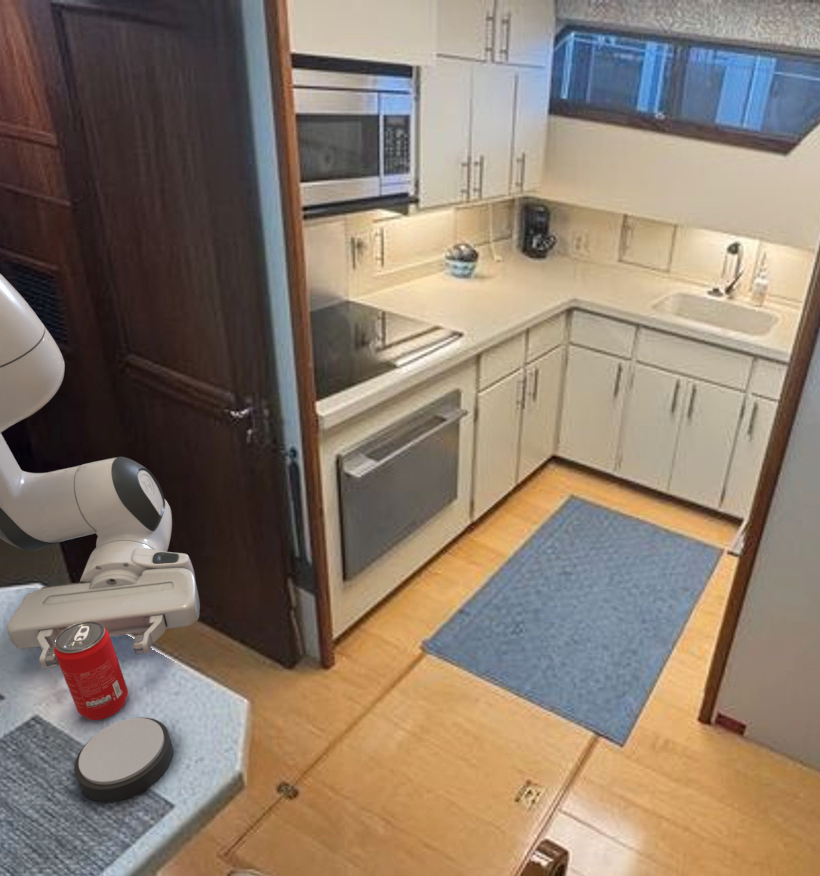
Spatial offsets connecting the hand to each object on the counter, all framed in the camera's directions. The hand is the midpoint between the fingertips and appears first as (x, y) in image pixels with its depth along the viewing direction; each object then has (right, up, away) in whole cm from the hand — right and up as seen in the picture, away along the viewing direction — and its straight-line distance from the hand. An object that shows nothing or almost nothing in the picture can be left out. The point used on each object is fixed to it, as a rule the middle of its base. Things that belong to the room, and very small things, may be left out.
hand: (95, 656), depth 83 cm
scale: (+7, -11, -4) cm, 14 cm away
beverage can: (0, -7, +2) cm, 7 cm away
